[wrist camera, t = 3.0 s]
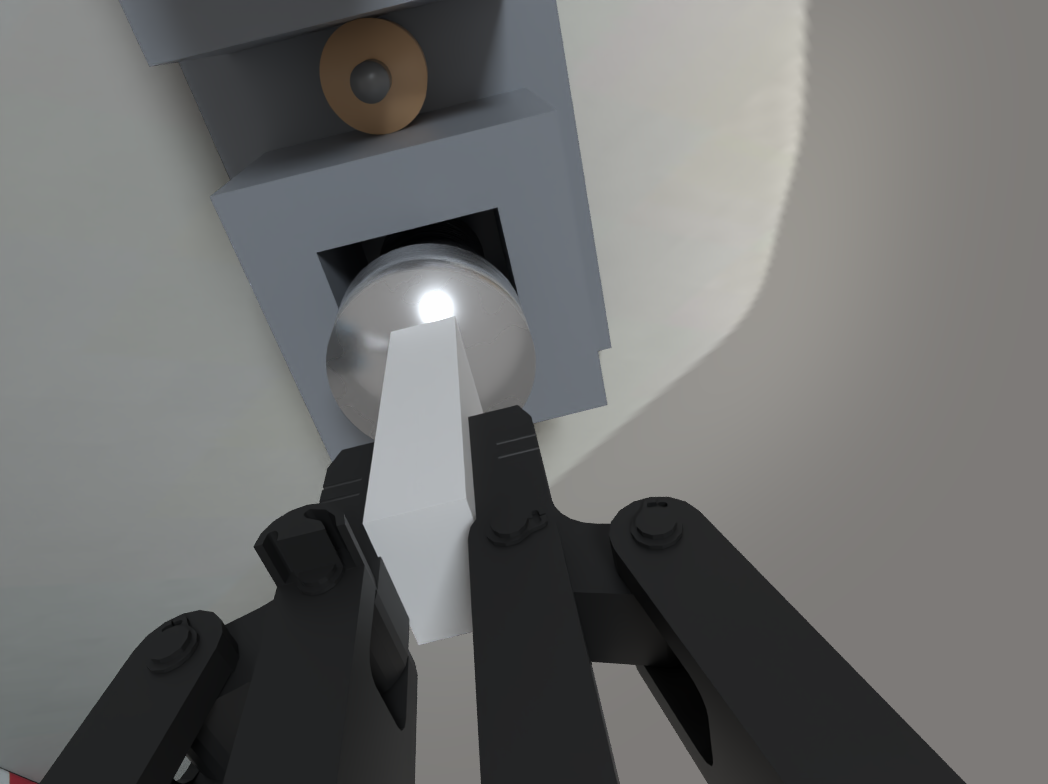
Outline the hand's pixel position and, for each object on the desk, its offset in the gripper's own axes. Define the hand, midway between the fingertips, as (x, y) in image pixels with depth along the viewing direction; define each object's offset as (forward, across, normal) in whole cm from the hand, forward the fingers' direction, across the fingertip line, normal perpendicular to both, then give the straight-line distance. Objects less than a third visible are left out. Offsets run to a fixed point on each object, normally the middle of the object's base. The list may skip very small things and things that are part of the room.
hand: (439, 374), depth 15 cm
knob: (+8, 0, 0) cm, 8 cm away
